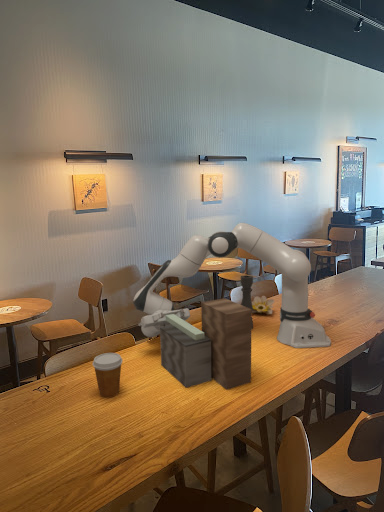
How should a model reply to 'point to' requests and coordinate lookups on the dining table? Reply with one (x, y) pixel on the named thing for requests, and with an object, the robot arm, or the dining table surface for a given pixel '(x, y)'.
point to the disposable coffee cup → (108, 373)
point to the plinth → (228, 341)
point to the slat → (185, 327)
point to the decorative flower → (262, 305)
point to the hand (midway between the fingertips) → (172, 313)
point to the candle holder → (247, 292)
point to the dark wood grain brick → (185, 356)
